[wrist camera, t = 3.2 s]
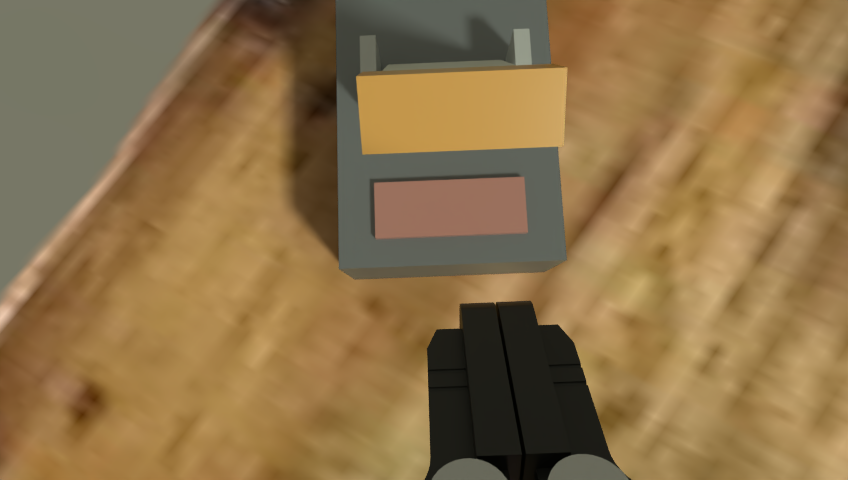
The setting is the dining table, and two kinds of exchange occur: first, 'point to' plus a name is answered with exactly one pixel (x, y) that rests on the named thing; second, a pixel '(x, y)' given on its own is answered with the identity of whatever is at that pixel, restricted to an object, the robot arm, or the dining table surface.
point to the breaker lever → (461, 106)
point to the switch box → (444, 170)
